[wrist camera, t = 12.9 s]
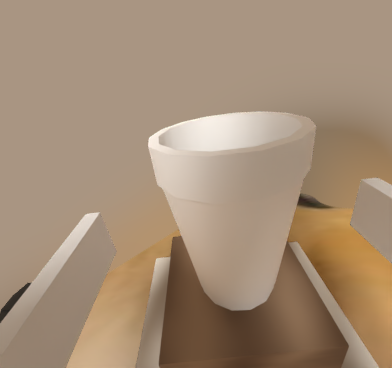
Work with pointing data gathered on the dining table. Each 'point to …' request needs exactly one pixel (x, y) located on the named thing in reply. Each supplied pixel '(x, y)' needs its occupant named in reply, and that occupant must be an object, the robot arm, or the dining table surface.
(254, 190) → the foam cup
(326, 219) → the dining table surface
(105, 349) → the dining table surface
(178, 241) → the build base
